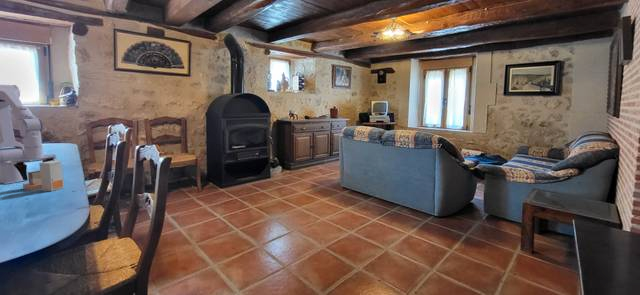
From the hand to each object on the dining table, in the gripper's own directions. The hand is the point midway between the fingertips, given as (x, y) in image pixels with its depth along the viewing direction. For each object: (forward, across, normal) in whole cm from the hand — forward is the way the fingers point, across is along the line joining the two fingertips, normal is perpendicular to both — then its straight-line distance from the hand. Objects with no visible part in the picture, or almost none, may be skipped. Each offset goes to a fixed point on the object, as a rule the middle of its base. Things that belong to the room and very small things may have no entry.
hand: (36, 177), depth 129 cm
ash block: (+2, 0, 0) cm, 2 cm away
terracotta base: (+4, 0, 0) cm, 4 cm away
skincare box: (+5, +2, -8) cm, 9 cm away
